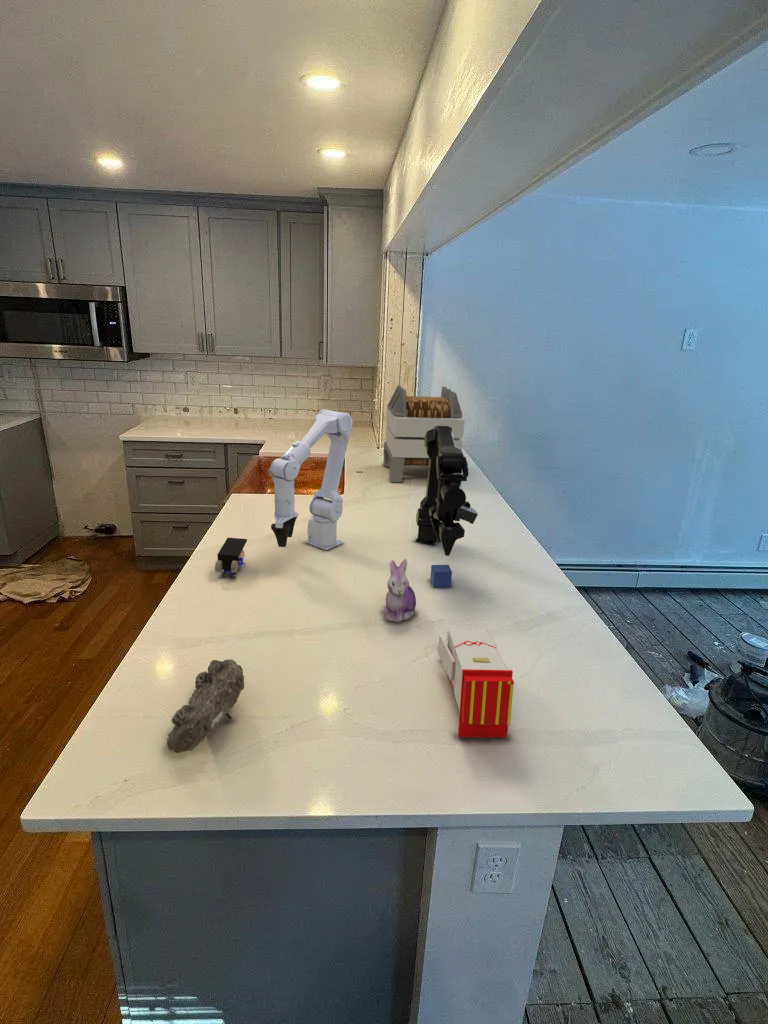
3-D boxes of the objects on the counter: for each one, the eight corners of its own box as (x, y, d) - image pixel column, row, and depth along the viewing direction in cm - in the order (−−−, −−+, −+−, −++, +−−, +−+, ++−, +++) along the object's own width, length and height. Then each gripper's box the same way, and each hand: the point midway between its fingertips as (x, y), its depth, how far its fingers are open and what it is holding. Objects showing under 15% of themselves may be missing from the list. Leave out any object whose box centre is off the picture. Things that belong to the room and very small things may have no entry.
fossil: (192, 660, 117) (244, 628, 112) (224, 691, 120) (276, 661, 115) (142, 746, 98) (202, 712, 93) (182, 779, 101) (242, 748, 96)
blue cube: (450, 587, 163) (452, 571, 161) (433, 587, 162) (434, 571, 161) (447, 579, 167) (448, 564, 166) (430, 580, 167) (431, 564, 165)
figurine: (392, 627, 141) (395, 572, 136) (374, 608, 149) (376, 556, 144) (425, 619, 145) (429, 566, 140) (405, 601, 154) (408, 550, 149)
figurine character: (238, 584, 162) (249, 557, 175) (236, 562, 158) (247, 536, 172) (215, 584, 161) (227, 556, 175) (212, 561, 158) (225, 535, 171)
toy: (488, 613, 130) (523, 677, 101) (484, 667, 133) (517, 744, 104) (435, 612, 130) (455, 676, 101) (432, 666, 133) (451, 743, 103)
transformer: (382, 463, 289) (386, 382, 275) (445, 464, 293) (451, 384, 279) (390, 482, 257) (394, 392, 243) (460, 483, 261) (468, 394, 247)
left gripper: (292, 508, 160) (292, 552, 164) (303, 492, 173) (303, 533, 178) (267, 506, 160) (268, 550, 165) (280, 491, 174) (281, 532, 178)
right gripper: (486, 508, 148) (480, 562, 153) (468, 486, 166) (463, 536, 171) (444, 508, 147) (439, 562, 152) (430, 486, 164) (426, 536, 169)
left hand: (285, 541), depth 171 cm, fingers open, 7 cm apart
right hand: (443, 548), depth 161 cm, fingers open, 9 cm apart
